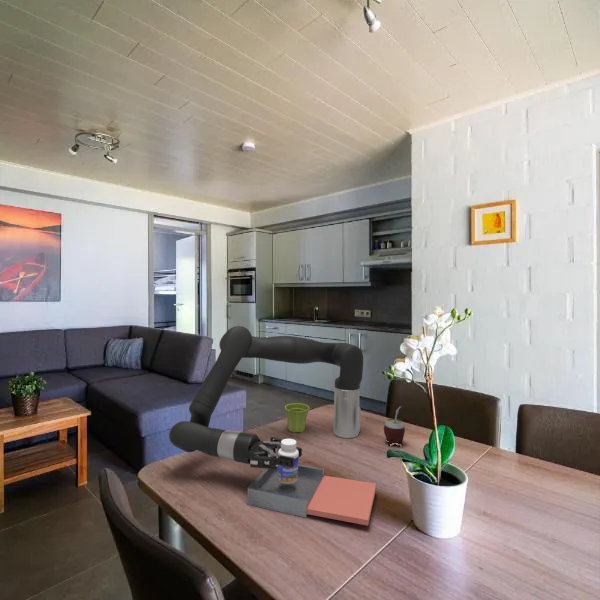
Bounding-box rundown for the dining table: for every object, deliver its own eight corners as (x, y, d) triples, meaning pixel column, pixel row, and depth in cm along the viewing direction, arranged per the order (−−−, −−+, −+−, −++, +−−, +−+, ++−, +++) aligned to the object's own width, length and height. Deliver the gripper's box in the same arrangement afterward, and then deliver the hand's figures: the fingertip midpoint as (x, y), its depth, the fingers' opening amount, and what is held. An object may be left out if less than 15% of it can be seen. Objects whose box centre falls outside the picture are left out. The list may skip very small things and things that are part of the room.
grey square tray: (247, 504, 87) (247, 488, 87) (272, 473, 102) (273, 459, 102) (306, 517, 82) (306, 500, 82) (323, 483, 97) (324, 468, 97)
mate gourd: (389, 438, 129) (391, 396, 129) (410, 445, 124) (411, 401, 124) (378, 444, 124) (380, 401, 124) (399, 451, 119) (400, 406, 118)
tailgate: (306, 508, 82) (368, 520, 78) (324, 475, 97) (376, 483, 93) (306, 515, 82) (368, 527, 78) (324, 481, 97) (376, 489, 93)
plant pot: (313, 428, 137) (314, 406, 136) (300, 436, 129) (301, 413, 128) (293, 423, 142) (293, 401, 141) (279, 431, 134) (279, 407, 133)
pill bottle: (282, 486, 88) (283, 447, 88) (273, 476, 93) (274, 439, 93) (301, 481, 91) (302, 444, 91) (292, 471, 96) (293, 435, 95)
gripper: (225, 443, 90) (288, 454, 84) (250, 423, 103) (306, 432, 98) (224, 472, 90) (287, 486, 84) (250, 449, 103) (305, 459, 98)
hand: (297, 457), depth 91 cm, fingers closed on pill bottle, 5 cm apart
